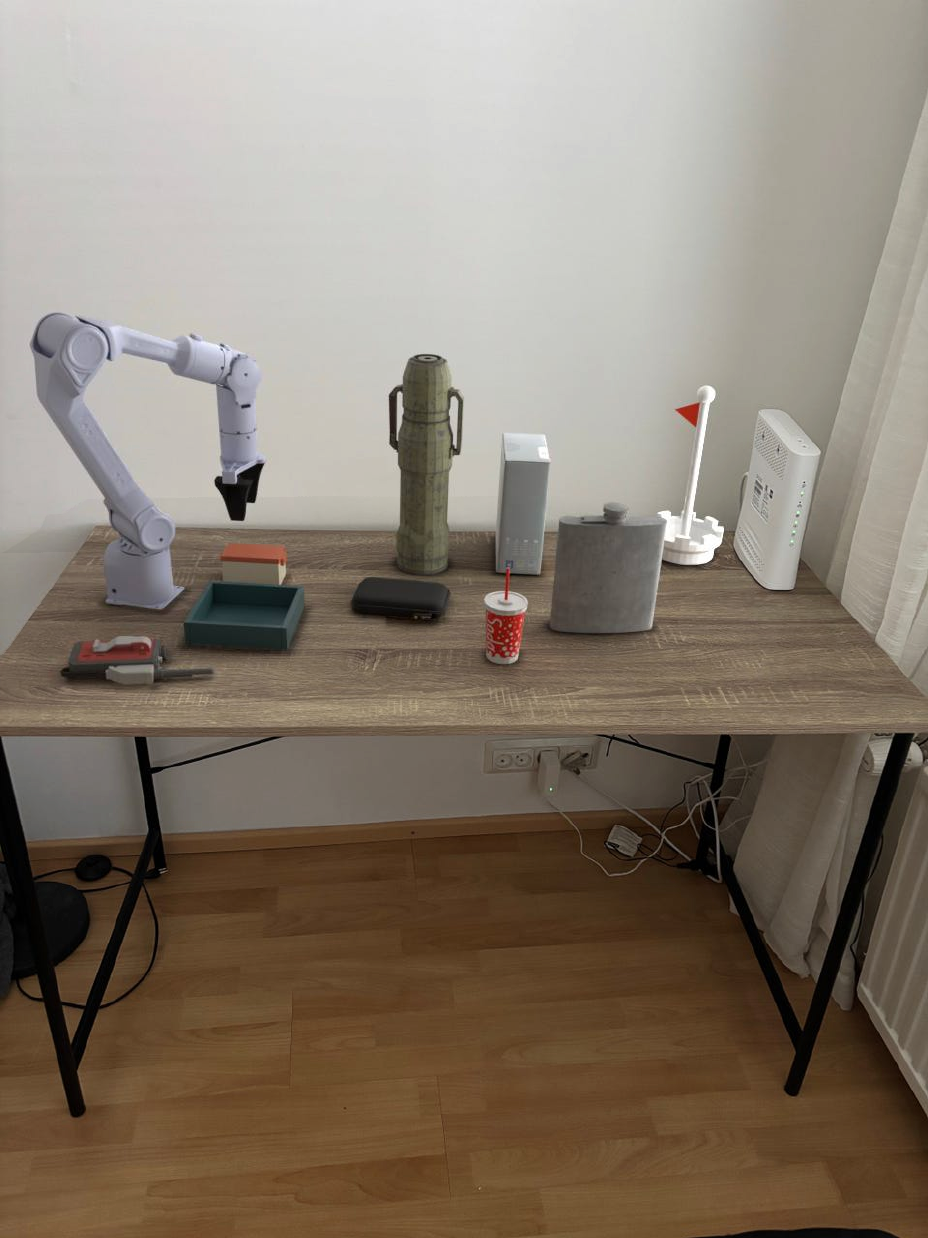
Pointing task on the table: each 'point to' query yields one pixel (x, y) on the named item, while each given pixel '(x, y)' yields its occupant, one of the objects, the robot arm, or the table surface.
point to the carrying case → (401, 598)
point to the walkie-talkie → (123, 661)
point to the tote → (245, 615)
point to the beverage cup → (504, 624)
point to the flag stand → (692, 500)
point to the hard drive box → (522, 503)
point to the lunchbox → (254, 563)
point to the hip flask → (607, 572)
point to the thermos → (424, 462)
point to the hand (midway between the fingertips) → (243, 510)
